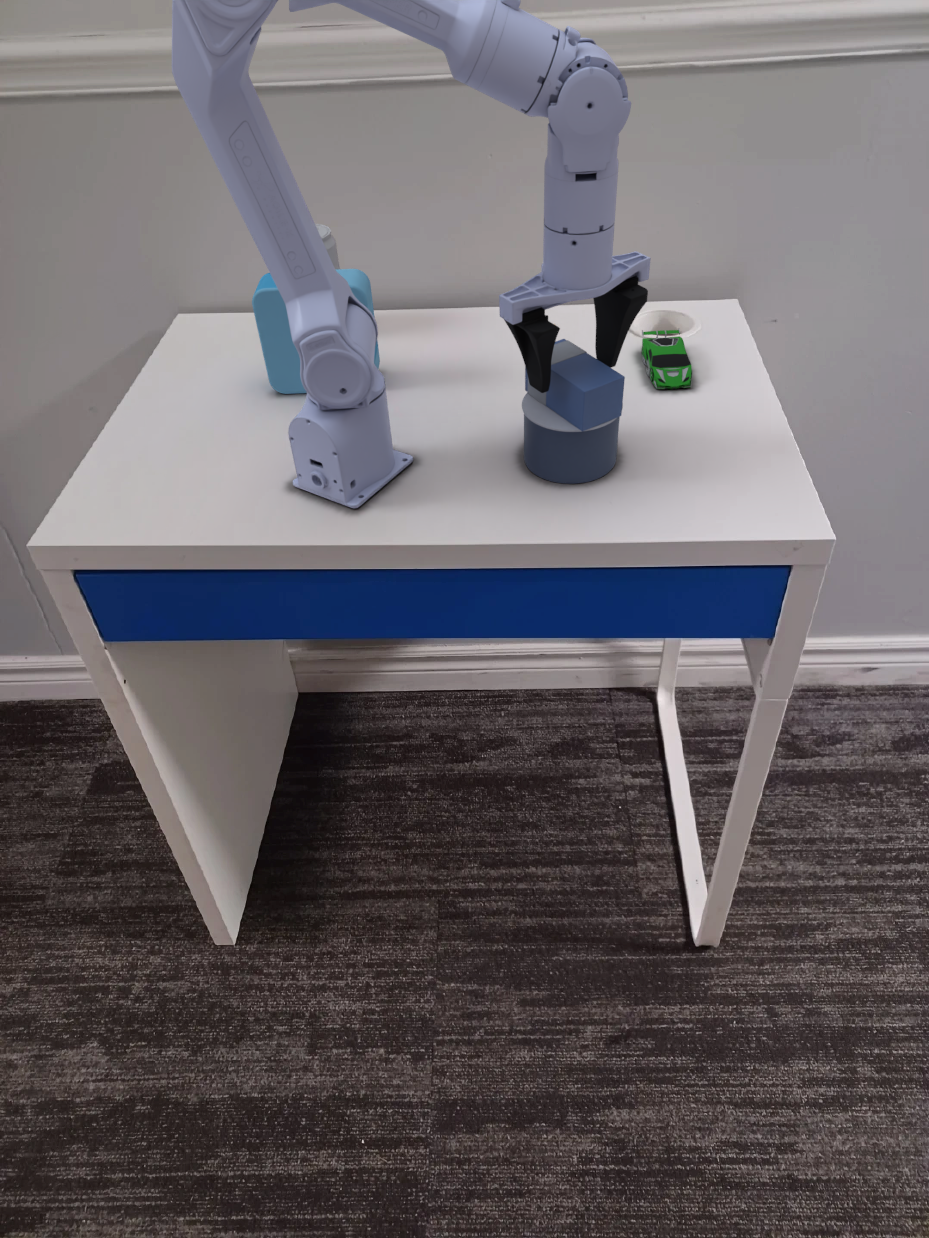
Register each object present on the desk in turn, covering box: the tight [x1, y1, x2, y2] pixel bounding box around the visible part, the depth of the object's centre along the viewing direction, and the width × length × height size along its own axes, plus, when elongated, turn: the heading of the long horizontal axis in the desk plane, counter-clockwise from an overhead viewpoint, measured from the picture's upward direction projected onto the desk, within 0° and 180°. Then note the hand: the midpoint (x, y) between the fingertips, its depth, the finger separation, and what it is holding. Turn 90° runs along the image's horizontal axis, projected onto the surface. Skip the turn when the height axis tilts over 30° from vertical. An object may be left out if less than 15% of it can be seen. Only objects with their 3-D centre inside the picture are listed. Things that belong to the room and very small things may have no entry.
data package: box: [251, 268, 381, 395], centre depth 96 cm, size 12×4×12 cm, turn 90°
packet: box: [524, 338, 626, 431], centre depth 82 cm, size 5×9×4 cm, turn 32°
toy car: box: [641, 328, 693, 390], centre depth 98 cm, size 10×5×2 cm, turn 1°
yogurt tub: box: [521, 391, 624, 485], centre depth 85 cm, size 9×9×6 cm
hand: (573, 375), depth 81 cm, fingers open, 7 cm apart
